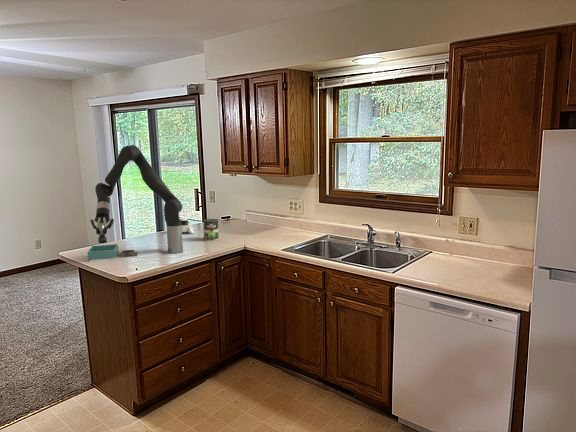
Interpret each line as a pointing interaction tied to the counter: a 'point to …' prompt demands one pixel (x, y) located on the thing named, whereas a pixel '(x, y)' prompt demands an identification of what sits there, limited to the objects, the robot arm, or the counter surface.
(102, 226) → the tube
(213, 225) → the coffee can
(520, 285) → the counter surface
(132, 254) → the square framed wooden base
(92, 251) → the bin
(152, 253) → the counter surface
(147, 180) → the robot arm
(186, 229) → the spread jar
